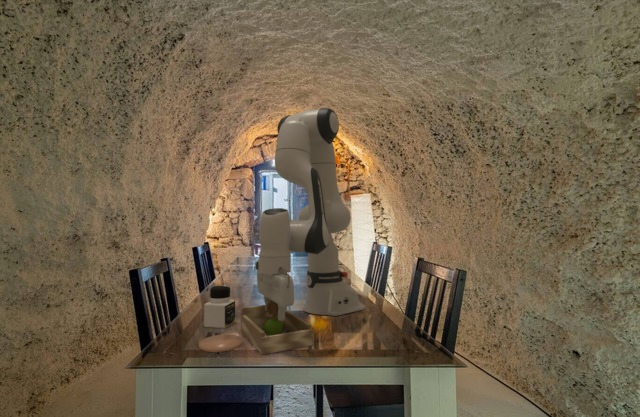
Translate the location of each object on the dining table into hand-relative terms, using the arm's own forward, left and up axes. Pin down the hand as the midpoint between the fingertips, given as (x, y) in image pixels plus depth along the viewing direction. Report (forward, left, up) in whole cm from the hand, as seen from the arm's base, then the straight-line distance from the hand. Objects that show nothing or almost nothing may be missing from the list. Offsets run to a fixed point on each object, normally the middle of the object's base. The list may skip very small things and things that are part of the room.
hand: (274, 315), depth 99 cm
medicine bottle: (+11, -20, -7) cm, 24 cm away
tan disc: (+14, -2, -6) cm, 16 cm away
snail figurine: (0, 0, -7) cm, 7 cm away
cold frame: (0, 0, -6) cm, 6 cm away
